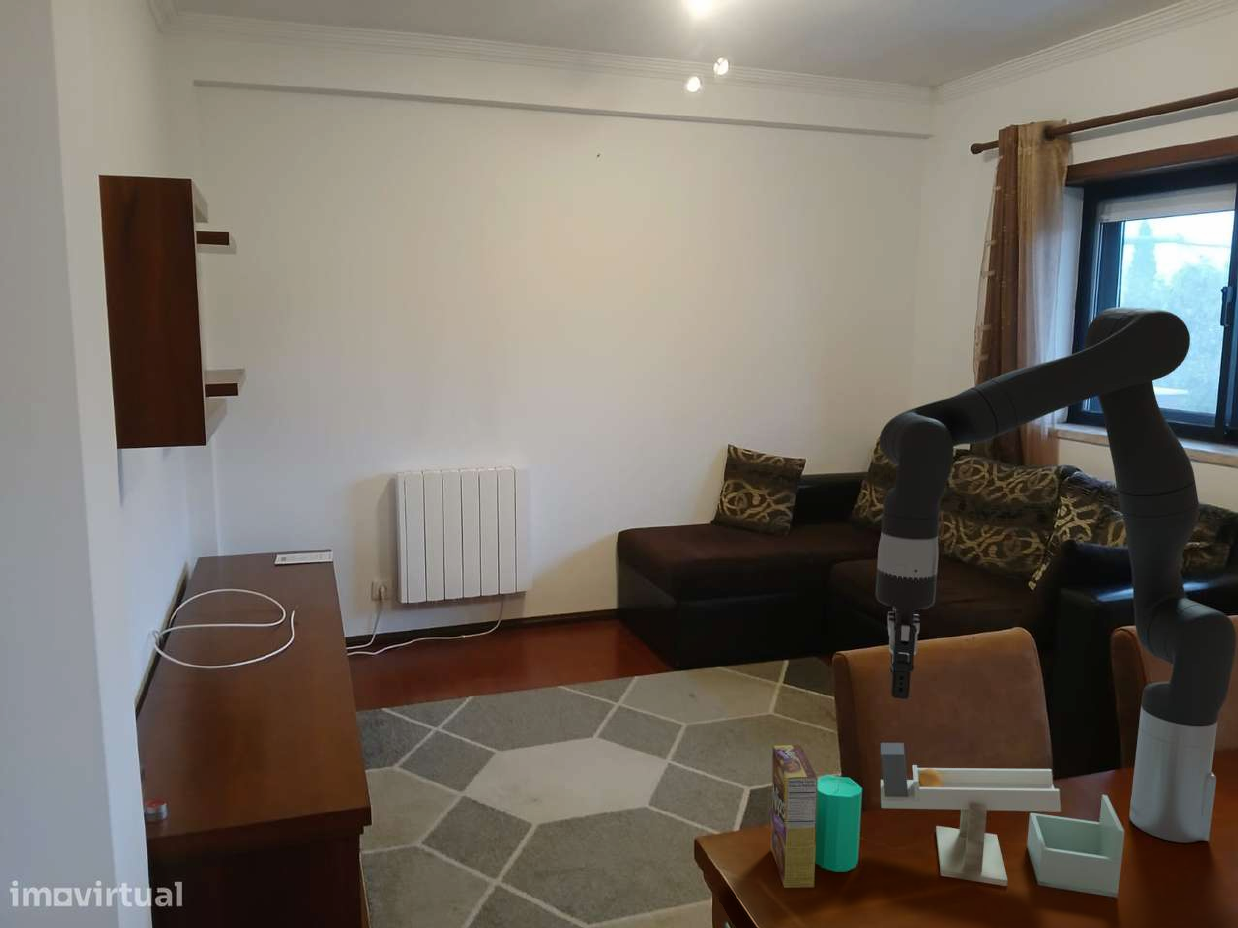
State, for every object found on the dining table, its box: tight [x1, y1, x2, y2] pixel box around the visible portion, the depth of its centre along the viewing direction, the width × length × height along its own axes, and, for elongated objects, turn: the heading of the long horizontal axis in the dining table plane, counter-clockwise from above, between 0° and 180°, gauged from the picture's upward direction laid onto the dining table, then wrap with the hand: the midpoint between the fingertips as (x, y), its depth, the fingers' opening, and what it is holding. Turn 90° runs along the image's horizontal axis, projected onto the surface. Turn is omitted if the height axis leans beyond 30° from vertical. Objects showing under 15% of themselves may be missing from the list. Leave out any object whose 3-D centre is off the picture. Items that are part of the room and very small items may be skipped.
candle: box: [815, 774, 863, 873], centre depth 123 cm, size 6×6×12 cm
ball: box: [918, 769, 942, 787], centre depth 124 cm, size 3×3×3 cm
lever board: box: [880, 742, 1062, 813], centre depth 123 cm, size 22×7×8 cm, turn 74°
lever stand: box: [935, 803, 1008, 887], centre depth 124 cm, size 8×11×10 cm
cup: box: [1026, 794, 1125, 899], centre depth 121 cm, size 9×9×9 cm
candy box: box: [770, 744, 819, 889], centre depth 120 cm, size 9×4×15 cm, turn 2°
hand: (899, 684), depth 124 cm, fingers open, 8 cm apart
